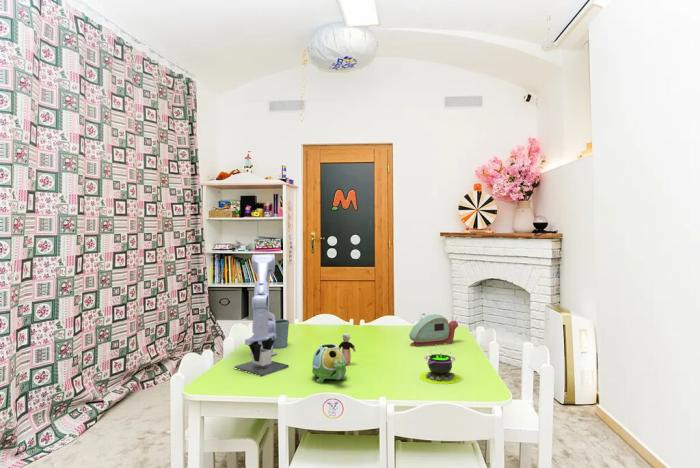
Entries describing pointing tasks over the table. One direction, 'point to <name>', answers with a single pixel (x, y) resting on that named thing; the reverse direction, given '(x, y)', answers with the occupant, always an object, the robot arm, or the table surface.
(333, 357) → the turtle holder
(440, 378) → the toy cauldron
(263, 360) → the duct sleeve
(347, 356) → the grandmother figurine
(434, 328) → the toy snail
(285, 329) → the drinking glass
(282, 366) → the duct plate
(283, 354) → the table surface
